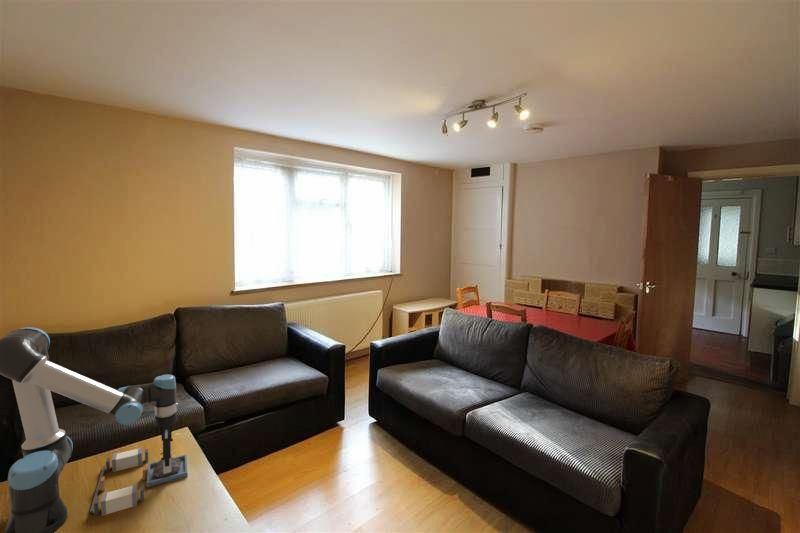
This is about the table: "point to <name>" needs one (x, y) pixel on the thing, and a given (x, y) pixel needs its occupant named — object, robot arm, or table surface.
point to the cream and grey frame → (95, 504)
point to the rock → (159, 468)
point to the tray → (179, 475)
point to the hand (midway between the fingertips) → (167, 465)
